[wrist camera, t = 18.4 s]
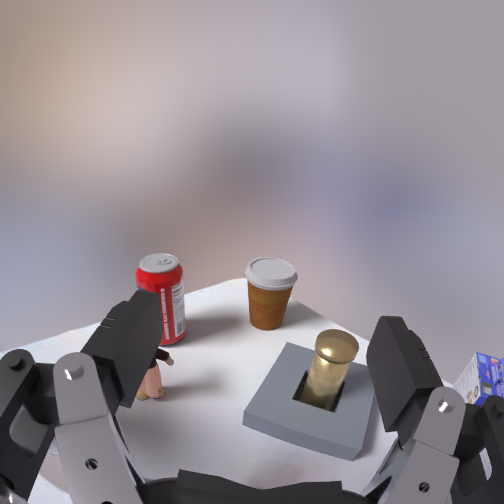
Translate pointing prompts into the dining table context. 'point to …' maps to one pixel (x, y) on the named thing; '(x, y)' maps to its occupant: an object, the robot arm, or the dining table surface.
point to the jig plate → (312, 407)
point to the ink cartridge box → (481, 379)
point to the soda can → (165, 292)
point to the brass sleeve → (329, 367)
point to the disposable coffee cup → (269, 290)
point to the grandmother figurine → (153, 377)
